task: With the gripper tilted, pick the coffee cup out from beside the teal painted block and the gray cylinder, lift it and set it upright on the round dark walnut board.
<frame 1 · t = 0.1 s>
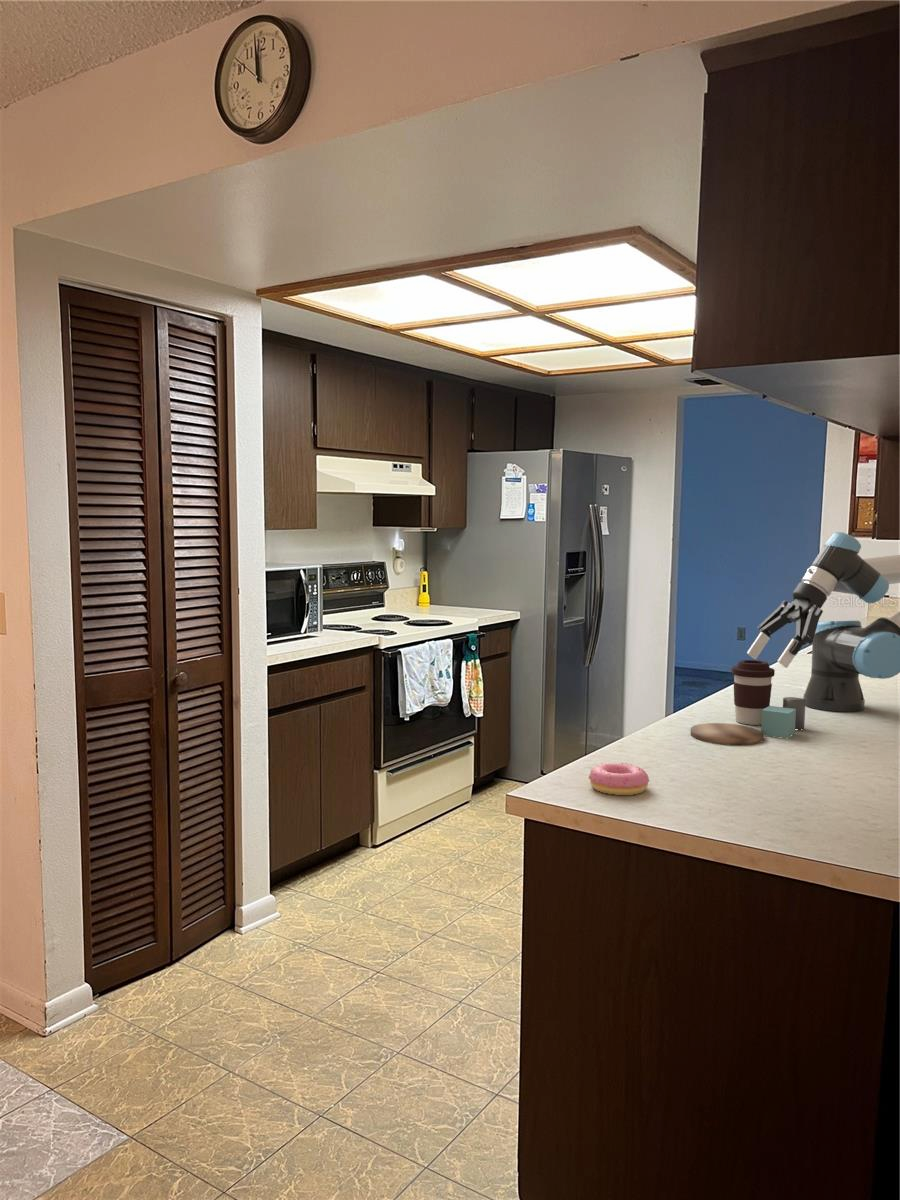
hand: (766, 660, 221), 15 cm above the worktop, tool tilted 35°, fingers open, 13 cm apart
walnut board: (726, 736, 208), on the worktop
doughnut: (618, 790, 167), on the worktop
coffee cup: (751, 723, 222), on the worktop
gray cylinder: (793, 728, 217), on the worktop
teal block: (777, 735, 210), on the worktop
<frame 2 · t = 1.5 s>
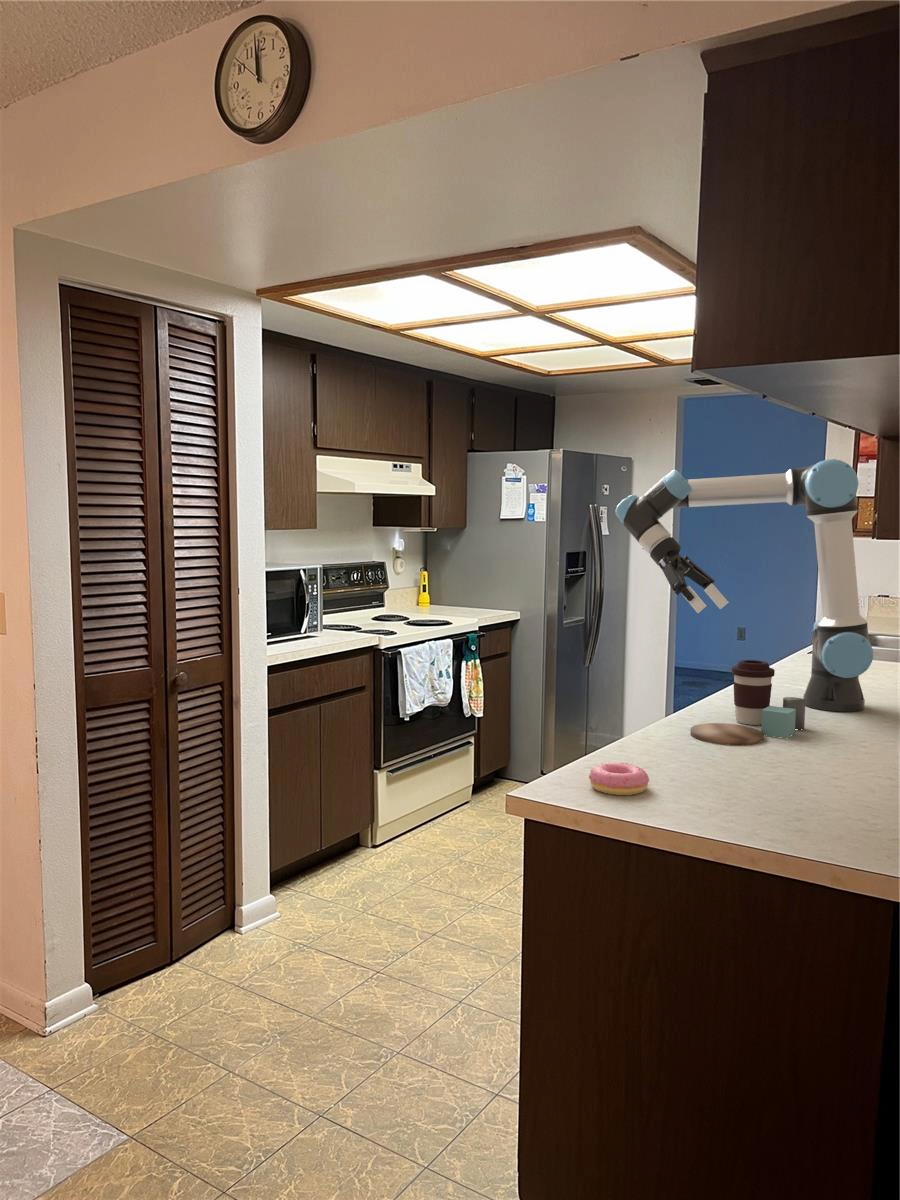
hand: (713, 607, 226), 28 cm above the worktop, tool tilted 45°, fingers open, 13 cm apart
nothing on the worktop moved.
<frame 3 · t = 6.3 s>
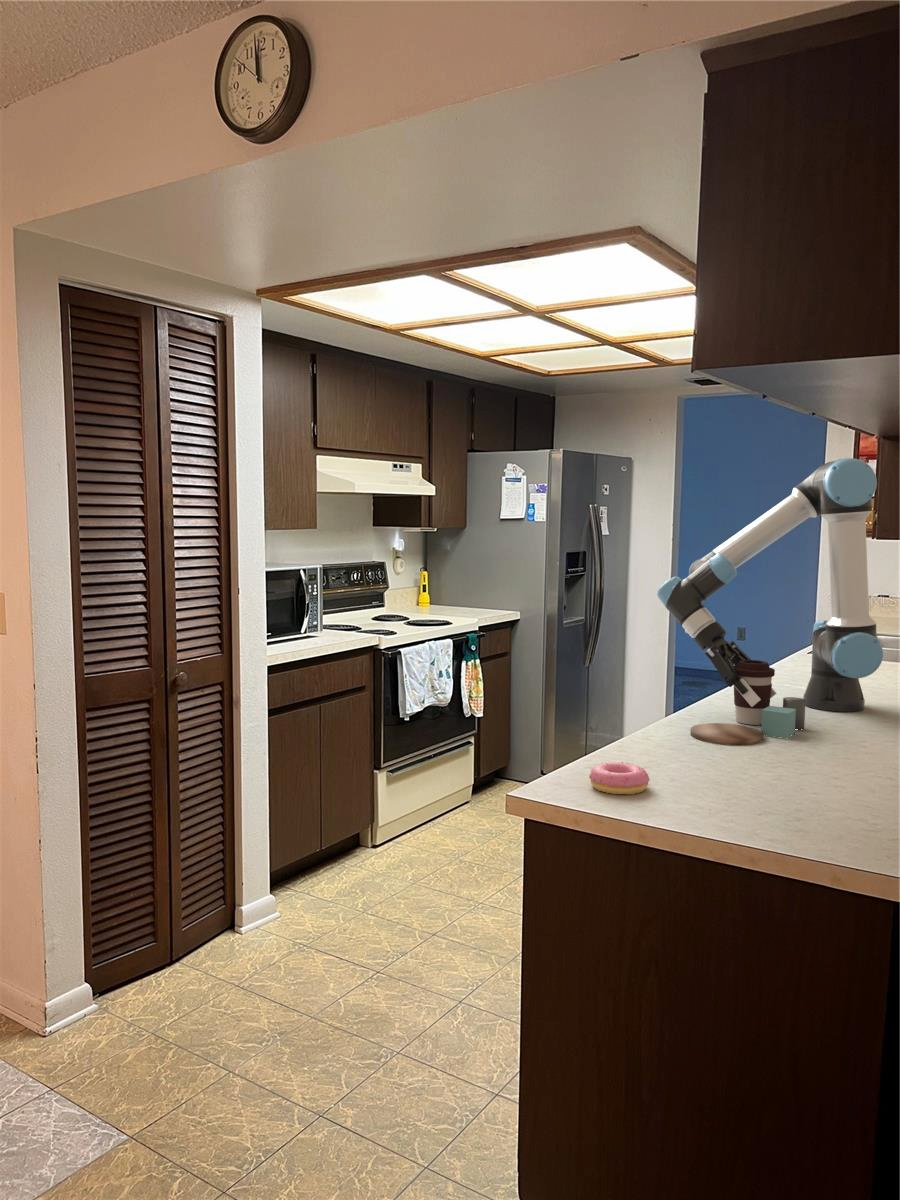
hand: (764, 700, 220), 6 cm above the worktop, tool tilted 45°, fingers closed on coffee cup, 10 cm apart
coffee cup: (751, 723, 222), on the worktop, touching gripper
everything else where it was.
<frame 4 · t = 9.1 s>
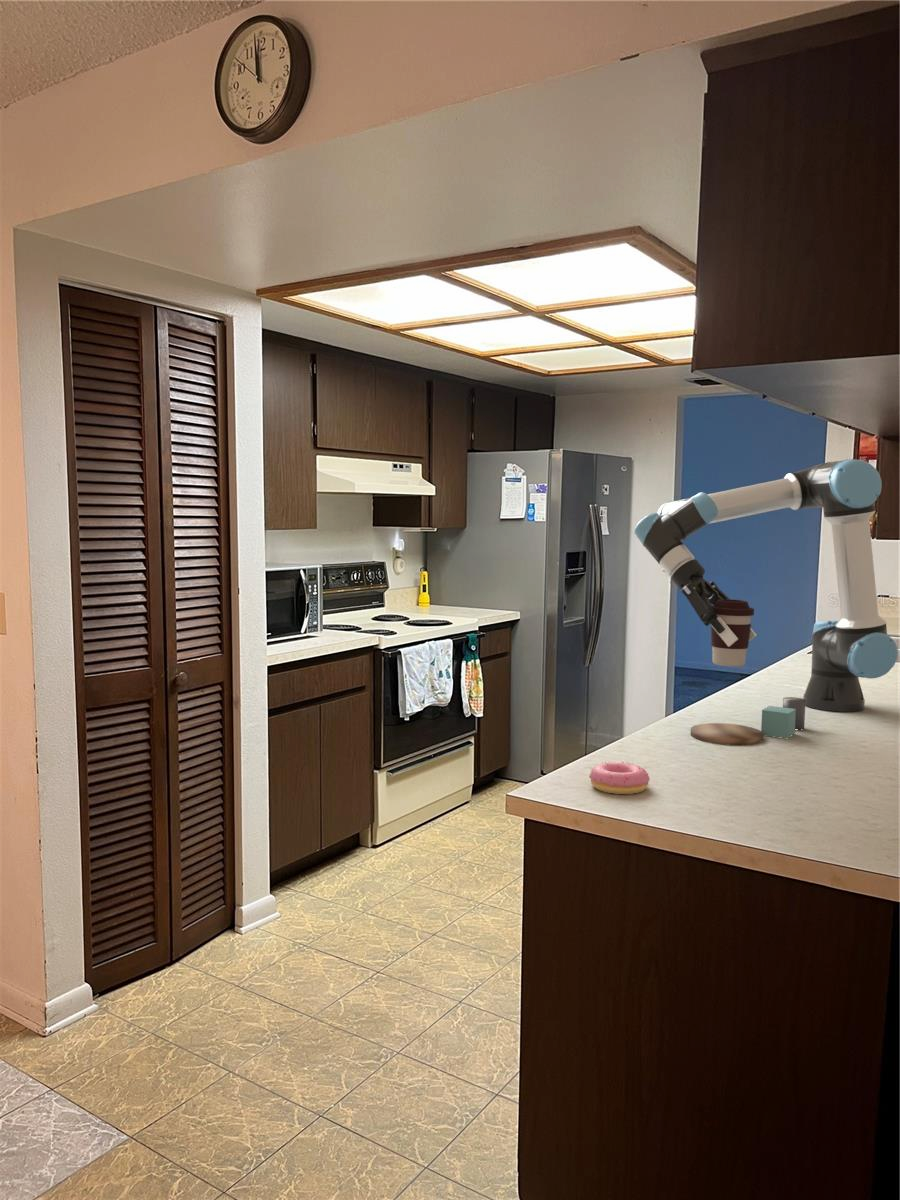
hand: (742, 640, 208), 22 cm above the worktop, tool tilted 45°, fingers closed on coffee cup, 10 cm apart
coffee cup: (728, 665, 211), point 16 cm above the worktop, touching gripper
everything else where it was.
when the fingers open (9 cm above the worktop, at t = 12.4 s): coffee cup drops 1 cm, resting on walnut board.
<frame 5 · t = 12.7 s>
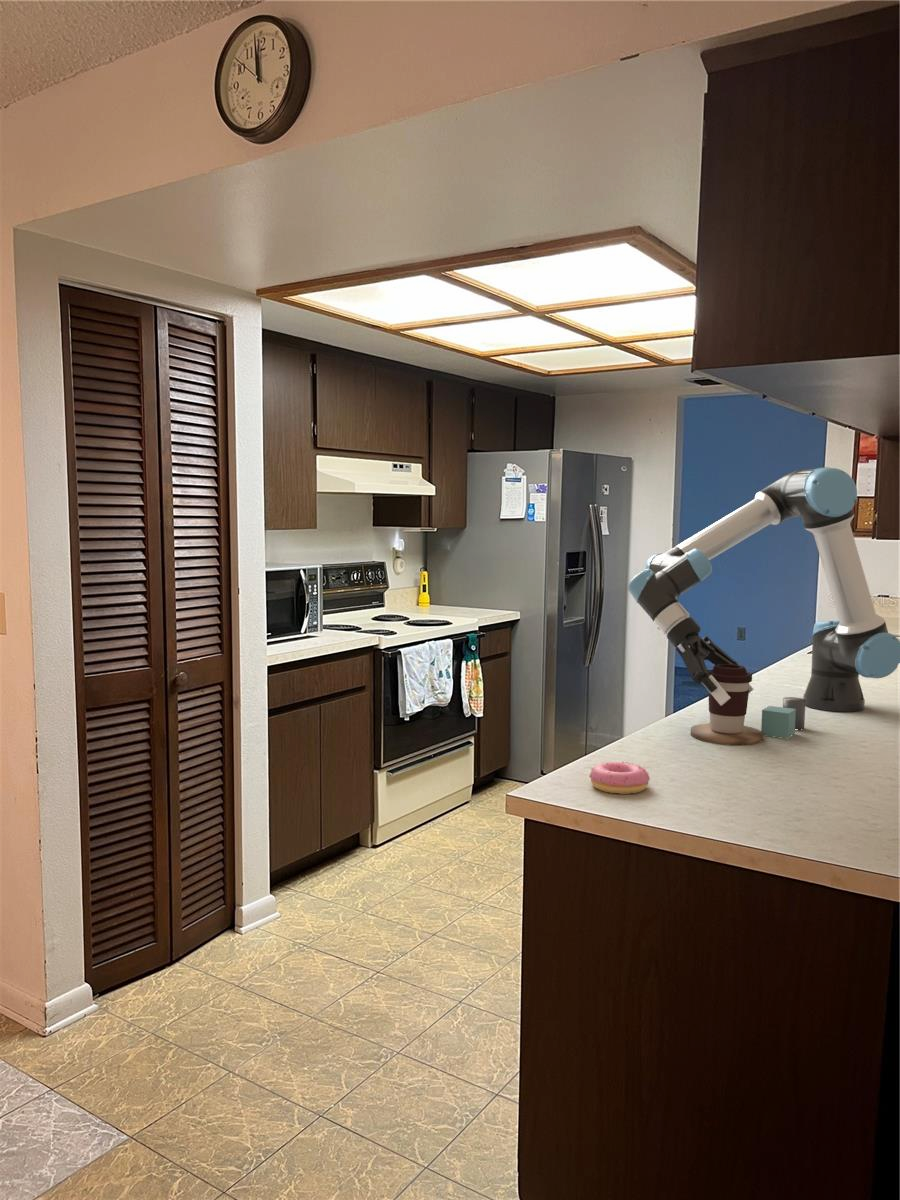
hand: (737, 697, 205), 9 cm above the worktop, tool tilted 45°, fingers open, 13 cm apart
coffee cup: (726, 731, 208), point 1 cm above the worktop, touching walnut board
everything else where it was.
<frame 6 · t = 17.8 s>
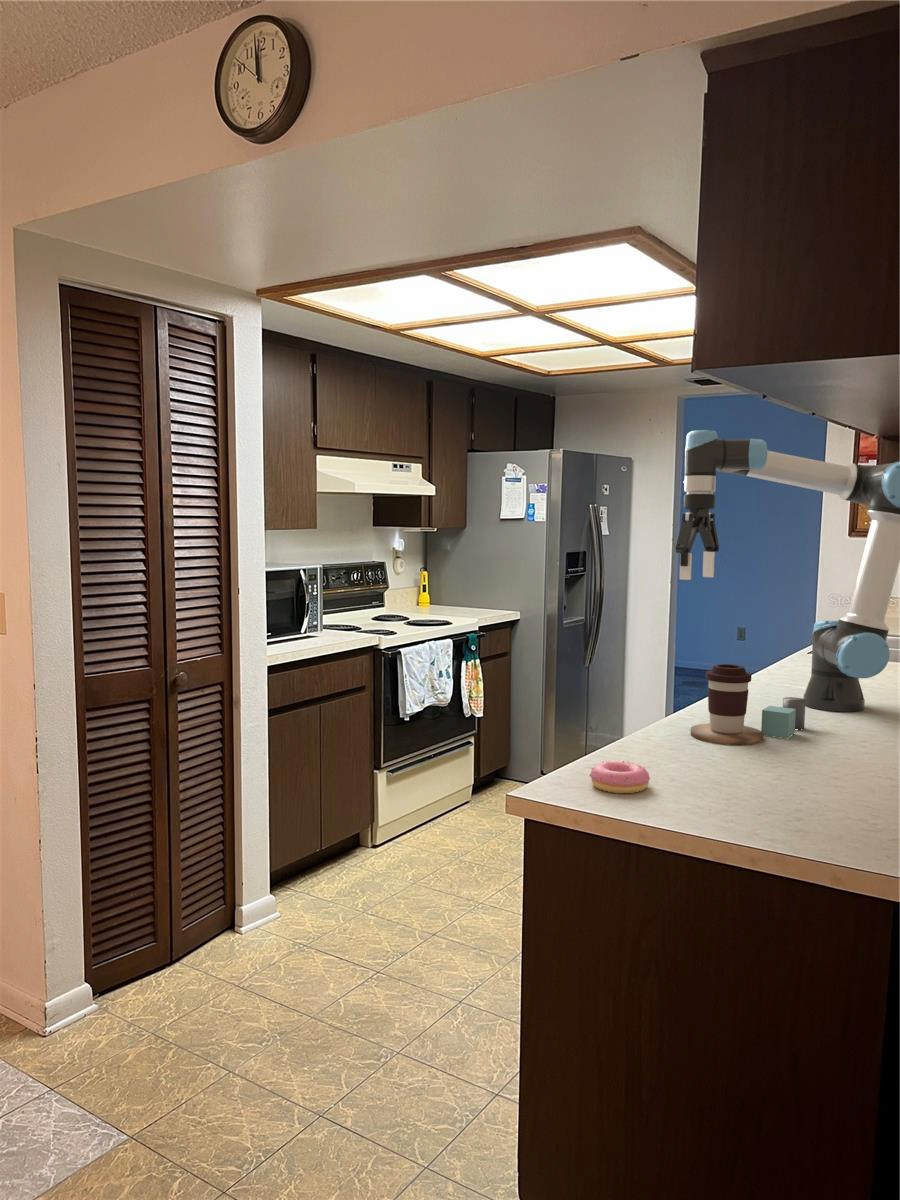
hand: (696, 578, 228), 35 cm above the worktop, tool pointing down, fingers open, 13 cm apart
at the end: coffee cup inside the target area on the walnut board (0.2 cm from its centre), point 1.0 cm above the walnut board's base; coffee cup tilted 0°; teal block moved 0.1 cm from its start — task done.
